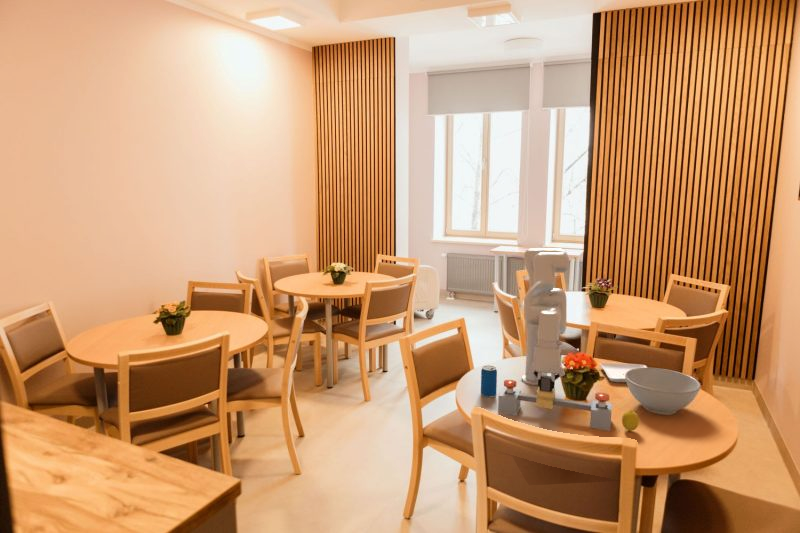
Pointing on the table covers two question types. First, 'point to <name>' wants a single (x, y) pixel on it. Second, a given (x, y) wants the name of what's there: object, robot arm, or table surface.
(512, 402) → the slide rail
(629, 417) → the lemon
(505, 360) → the table surface
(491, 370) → the beverage can
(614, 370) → the salad plate
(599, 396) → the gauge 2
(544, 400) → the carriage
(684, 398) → the decorative bowl
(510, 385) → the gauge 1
